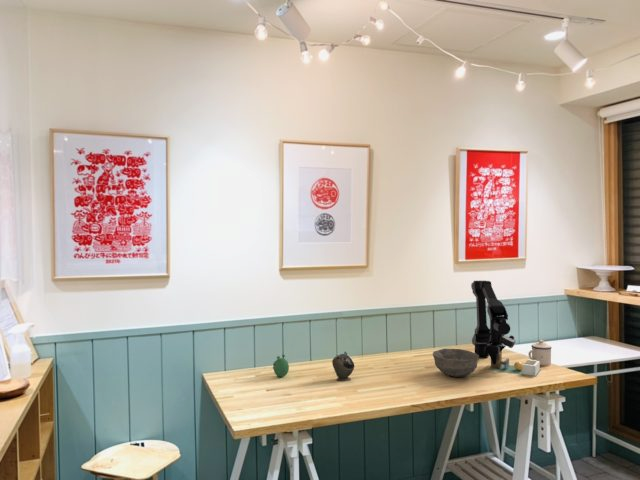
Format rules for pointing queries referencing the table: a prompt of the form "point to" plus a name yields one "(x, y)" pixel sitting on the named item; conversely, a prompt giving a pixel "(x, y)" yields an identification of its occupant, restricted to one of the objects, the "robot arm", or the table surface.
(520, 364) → the ball
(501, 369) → the pitch
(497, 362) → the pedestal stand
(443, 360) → the bowl
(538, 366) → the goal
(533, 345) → the teacup with lid
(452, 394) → the table surface
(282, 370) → the alien toy
